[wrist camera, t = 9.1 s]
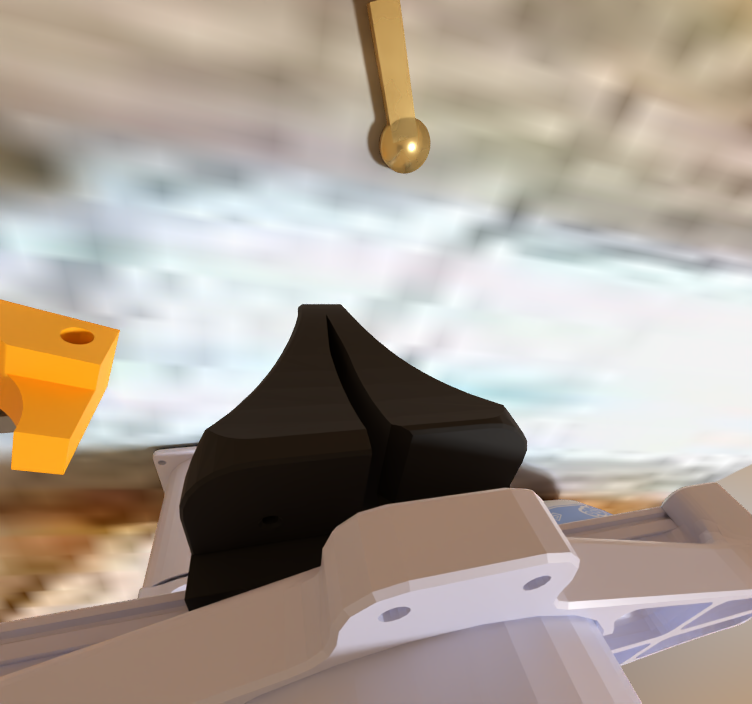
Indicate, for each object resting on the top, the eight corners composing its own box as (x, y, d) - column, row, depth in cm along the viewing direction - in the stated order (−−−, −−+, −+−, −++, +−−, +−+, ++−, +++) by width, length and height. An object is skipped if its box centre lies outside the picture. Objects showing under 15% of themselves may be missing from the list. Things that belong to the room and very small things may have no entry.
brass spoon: (427, 162, 19) (433, 165, 19) (383, 175, 19) (387, 179, 19) (407, -7, 15) (413, -10, 15) (351, 8, 15) (355, 6, 15)
